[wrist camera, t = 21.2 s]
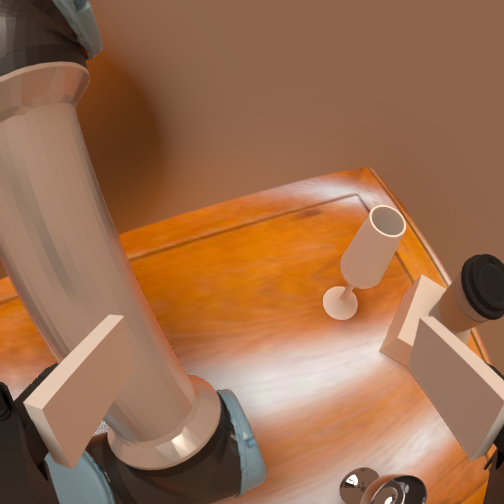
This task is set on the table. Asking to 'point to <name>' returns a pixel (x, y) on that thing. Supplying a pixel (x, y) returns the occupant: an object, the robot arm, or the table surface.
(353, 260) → the champagne flute
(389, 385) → the table surface
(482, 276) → the coffee cup
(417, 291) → the riser
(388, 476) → the wine glass
